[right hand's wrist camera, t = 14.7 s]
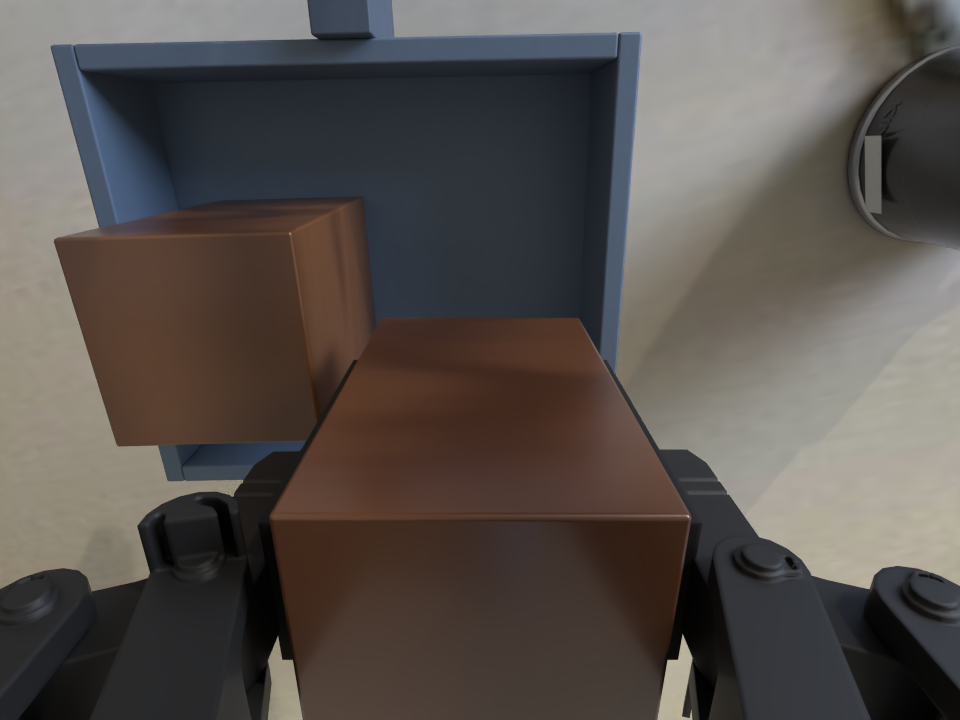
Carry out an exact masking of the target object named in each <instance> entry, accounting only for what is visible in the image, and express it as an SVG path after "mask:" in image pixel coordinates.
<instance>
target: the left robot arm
mask: <svg viewBox="0 0 960 720" xmlns="http://www.w3.org/2000/svg"><path fill="white" fill-rule="evenodd" d="M848 179H849V187H850V191H851V195H852V198H853V201H854V203H855V205H856V207H857V209H858V211H859V212H860V214H861V215H862V217H863V218H864V219H865V220H866V221H867V222H868V223H869V224H870V225H871V226H872V227H873V228H875V229H876V230H878V231H879V232H881V233H883V234H885V235H887V236H890V237H893V238H896V239H900V240H905V241H910V242H917V243H930V244H934V245H939V246H944V247H948V248H952V249H956V250H960V45H958V46H953V47H948V48H945V49H941V50H938V51H936V52H933V53H931V54H928V55H926V56H924V57H922V58H920V59H919V60H917V61H915V62H914V63H912V64H910V65H909V66H908V67H906V68H905V69H903V70H902V71H901V72H900V73H898V74H897V75H896V76H895V77H894V78H893V79H892V80H891V81H890V82H888V83H887V84H886V85H885V87H884V88H883V89H882V90H881V91H880V92H879V93H878V95H877V96H876V97H875V99H874V100H873V101H872V103H871V104H870V106H869V107H868V109H867V110H866V112H865V114H864V116H863V118H862V119H861V121H860V123H859V126H858V128H857V130H856V133H855V136H854V139H853V142H852V146H851V150H850V156H849V164H848Z"/></svg>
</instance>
